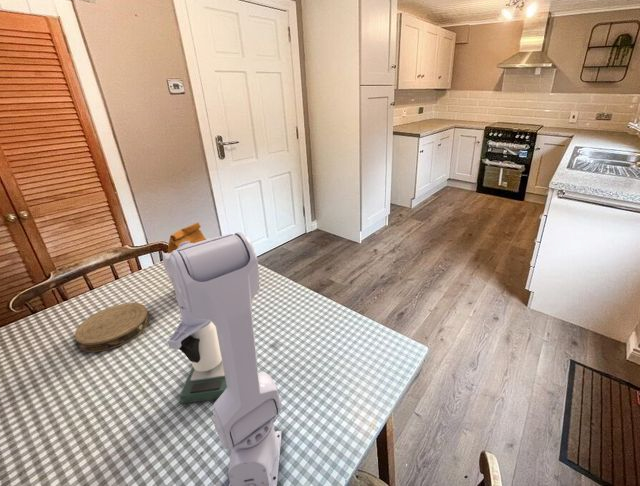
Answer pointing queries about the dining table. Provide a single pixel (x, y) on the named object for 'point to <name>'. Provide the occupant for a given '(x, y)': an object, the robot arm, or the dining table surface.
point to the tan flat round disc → (112, 327)
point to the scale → (204, 385)
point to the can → (207, 348)
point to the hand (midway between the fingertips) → (205, 348)
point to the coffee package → (185, 236)
